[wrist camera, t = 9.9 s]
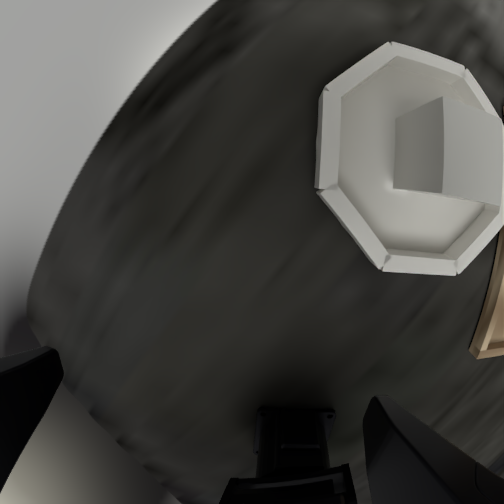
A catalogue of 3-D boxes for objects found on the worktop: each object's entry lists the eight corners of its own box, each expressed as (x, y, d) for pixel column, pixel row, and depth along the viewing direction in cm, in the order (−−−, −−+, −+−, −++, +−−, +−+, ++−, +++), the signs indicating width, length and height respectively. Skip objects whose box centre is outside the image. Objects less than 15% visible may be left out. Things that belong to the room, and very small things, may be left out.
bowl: (479, 268, 18) (496, 278, 15) (307, 255, 18) (311, 266, 16) (488, 92, 14) (505, 86, 12) (317, 44, 15) (323, 28, 13)
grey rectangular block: (444, 196, 16) (500, 206, 10) (392, 188, 16) (441, 193, 11) (446, 131, 15) (501, 118, 9) (395, 118, 15) (442, 95, 10)
